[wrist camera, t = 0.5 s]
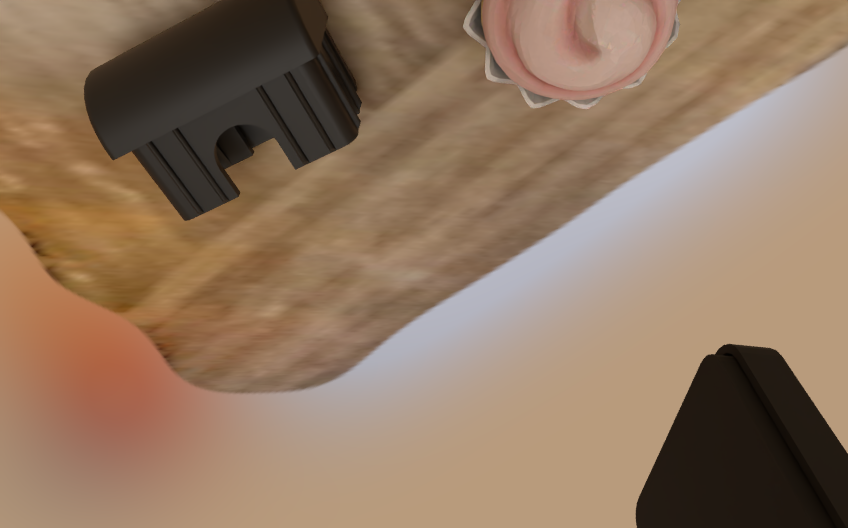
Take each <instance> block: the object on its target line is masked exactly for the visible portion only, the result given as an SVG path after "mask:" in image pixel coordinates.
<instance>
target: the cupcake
mask: <svg viewBox="0 0 848 528" xmlns="http://www.w3.org/2000/svg"><path fill="white" fill-rule="evenodd" d="M680 1H681V0H476V1H475V2H474V4H473V6H472V7H471V9H470V11H469V12H468V14H467V16H466V18H465V21H464V24H463V28H464V30H465V31H466V32H467V34H468V35H470V36H471V37H472V38H473V39H475V40H476V41H477V42H479V43H480V44H481V45H482V46H484V47H485V48H486V56H485V73H486V77H487V79H488V80H491V81H493V82H498V83H508V84H517V86H518V88H519V90H520V91H521V93H522V95H523V97H524V99H525V101H526V103H527V104H528V105H529V106H530V107H531V108H540V107H543V106H545V105H548V104H550V103H553V102H555V101H558V100H560V99H563V100H565V101H566V102H568V103H570V104H572V105H573V106H575V107H577V108H583V109H589V108H590V107H592V106H594V105H595V104H597V103H598V102H599V101H600V100H601V98H602V97H603V96H604V95H607V94H610V93H613V92H615V91H618V90H620V89H622V88H632V87H635V86H638V85H640V84H641V83H642V81H643V80H644V78H645V77H646V74H647V72H648V71H649V70H650V69H651V68H652V66H653V65H654V64H655V63H656V62H657V61H658V59H659V58H660V56H661V54H662V53H663V51H664V50H665V49H666V48H668V47H669V46H670V45H671V44H672V42H673V41H674V40H675V39H676V38H677V37H678V32H679V26H680V23H679V19H678V15H677V5H678V4H679V2H680Z"/></svg>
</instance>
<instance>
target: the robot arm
mask: <svg viewBox="0 0 848 528" xmlns="http://www.w3.org/2000/svg"><path fill="white" fill-rule="evenodd" d="M636 525H637V528H848V453H847V452H846V450H845V449H844V448H843V446H842V445H841V443H840V442H839V440H838V439H837V437H836V436H835V434H834V433H833V431H832V430H831V428H830V427H829V425H828V424H827V422H826V421H825V419H824V418H823V416H822V415H821V414H820V412H819V411H818V409H817V408H816V406H815V405H814V403H813V402H812V400H811V399H810V397H809V396H808V394H807V393H806V391H805V390H804V388H803V387H802V385H801V384H800V382H799V381H798V379H797V378H796V376H795V375H794V373H793V372H792V371H791V369H790V368H789V366H788V364H787V363H786V361H785V360H784V358H783V357H782V356H781V355H780V354H779V353H778V352H777V351H776V350H774V349H771V348H763V347H754V346H753V347H752V346H744V345H733V344H727V345H723V346H722V347H721V348H719V349H718V351H717V352H716V354H715V355H714V354H711V355H707V356H706V357H705V358H704V359H703V361H702V363H701V364H700V366H699V369H698V371H697V373H696V375H695V377H694V379H693V381H692V384H691V386H690V388H689V390H688V393H687V394H686V397H685V399H684V401H683V403H682V406H681V407H680V410H679V412H678V414H677V416H676V418H675V420H674V423H673V425H672V427H671V429H670V431H669V433H668V436H667V438H666V440H665V442H664V444H663V447H662V449H661V451H660V453H659V455H658V457H657V459H656V462H655V464H654V466H653V468H652V470H651V473H650V475H649V477H648V479H647V481H646V483H645V485H644V488H643V490H642V492H641V494H640V496H639V499H638V502H637V507H636Z"/></svg>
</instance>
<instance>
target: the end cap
mask: <svg viewBox="0 0 848 528" xmlns="http://www.w3.org/2000/svg"><path fill="white" fill-rule="evenodd" d="M327 19H328V16H327V14H326V12H325V11H324V9H323V7H322V5H321V4H320V2H319V0H221V1H219V2H218V3H216V4H214V5H212V6H210V7H208V8H206V9H205V10H203V11H201V12H199V13H197V14H195V15H193V16H192V17H190V18H188V19H186V20H184V21H182V22H180V23H179V24H177V25H175V26H173V27H171V28H169V29H167V30H166V31H164V32H162V33H160V34H158V35H156V36H154V37H153V38H151V39H149V40H147V41H145V42H143V43H141V44H140V45H138V46H136V47H134V48H132V49H130V50H129V51H127V52H125V53H123V54H121V55H119V56H117V57H116V58H114V59H112V60H110V61H108V62H106V63H104V64H103V65H101V66H99V67H97V68H95V69H94V70H92V71H91V72H90V73H89V75H88V77H87V78H86V81H85V86H84V100H85V105H86V110H87V113H88V116H89V119H90V122H91V124H92V126H93V129H94V131H95V133H96V135H97V137H98V139H99V140H100V142H101V144H102V146H103V147H104V149H105V150H106V152H107V153H108V154H109V156H110V157H111V159H112V160H115V159H117V158H119V157H121V156H123V155H125V154H127V153H129V152H131V151H132V152H133V154H134V155H135V156H136V158H137V159H138V160H139V162H140V163H141V164H142V165H143V167H144V168H145V169H146V171H147V172H148V173H149V175H150V176H151V177H152V179H153V180H154V181H155V183H156V184H157V185H158V186H159V188H160V189H161V190H162V192H163V193H164V194H165V196H166V197H167V198H168V200H169V201H170V202H171V204H172V205H173V206H174V207H175V209H176V210H177V211H178V213H179V214H180V215H181V217H182V218H183V219H184V220H185V221H187V220H190V219H193V218H195V217H197V216H199V215H201V214H203V213H206V212H208V211H210V210H212V209H214V208H216V207H218V206H220V205H222V204H224V203H227V202H229V201H231V200H233V199H235V198H237V197H239V194H240V191H239V190H238V188H237V187H236V185H235V184H234V183H233V181H232V180H231V178H230V177H229V175H228V174H227V172H226V171H225V170H224V169H226V168H228V167H230V166H232V165H234V164H236V163H238V162H240V161H242V160H244V159H246V158H248V157H250V156H252V155H253V153H254V150H253V149H252V148H253V147H255V146H257V145H259V144H261V143H263V142H266V141H268V140H270V139H272V138H275V139H276V140H277V142H278V143H279V145H280V146H281V148H282V149H283V151H284V152H285V154H286V156H287V157H288V159H289V160H290V162H291V163H292V165H293V167H294V168H295V170H296V169H298V168H300V167H302V166H304V165H306V164H308V163H311V162H313V161H315V160H317V159H319V158H321V157H323V156H325V155H327V154H330V153H332V152H334V151H336V150H338V149H340V148H342V147H344V146H346V145H348V144H349V143H351V142H352V141H353V140H355V139H356V137H357V136H358V128H359V125H360V122H361V121H360V119H359V118H358V116H357V114H359V113H360V107H361V104H362V102H361V100H360V98H359V97H358V95H357V93H356V90H357V86H356V82H355V79H354V78H353V76H352V74H351V72H350V70H349V69H348V67H347V65H346V63H345V61H344V59H343V58H342V56H341V54H340V52H339V50H338V49H337V47H336V45H335V43H334V41H333V39H332V38H331V36H330V34H329V32H328V30H327V29H326V23H327Z"/></svg>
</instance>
